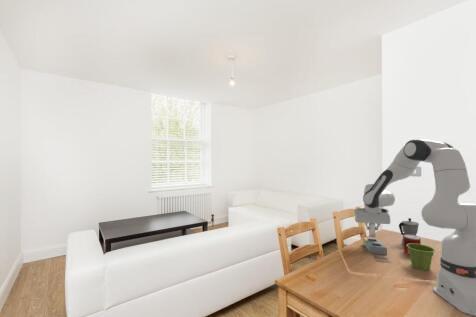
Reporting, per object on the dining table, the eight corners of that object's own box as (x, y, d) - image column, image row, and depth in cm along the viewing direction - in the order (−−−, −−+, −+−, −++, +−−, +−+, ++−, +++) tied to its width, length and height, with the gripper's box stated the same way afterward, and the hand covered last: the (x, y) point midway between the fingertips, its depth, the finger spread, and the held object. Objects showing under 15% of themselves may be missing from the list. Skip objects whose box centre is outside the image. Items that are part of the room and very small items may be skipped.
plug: (376, 237, 147) (376, 222, 147) (370, 237, 148) (369, 221, 148) (374, 235, 150) (374, 220, 150) (368, 235, 151) (368, 220, 151)
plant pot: (441, 275, 114) (440, 252, 114) (414, 272, 116) (414, 250, 116) (426, 264, 125) (426, 243, 125) (402, 262, 127) (402, 242, 128)
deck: (390, 264, 125) (390, 262, 125) (376, 263, 127) (376, 261, 127) (384, 257, 135) (384, 255, 135) (371, 255, 136) (371, 254, 136)
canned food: (424, 257, 134) (423, 238, 134) (410, 257, 134) (410, 238, 134) (414, 252, 142) (414, 234, 142) (401, 252, 142) (401, 234, 142)
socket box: (386, 256, 136) (386, 247, 136) (369, 254, 138) (369, 245, 138) (378, 246, 151) (377, 238, 152) (362, 245, 154) (362, 237, 154)
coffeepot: (411, 241, 159) (410, 216, 159) (425, 246, 150) (424, 219, 150) (393, 243, 156) (392, 217, 156) (406, 248, 147) (405, 221, 147)
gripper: (355, 208, 149) (355, 230, 149) (391, 210, 143) (391, 232, 143) (353, 206, 155) (353, 227, 155) (387, 208, 149) (387, 229, 149)
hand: (372, 229), depth 149 cm, fingers closed on plug, 4 cm apart
